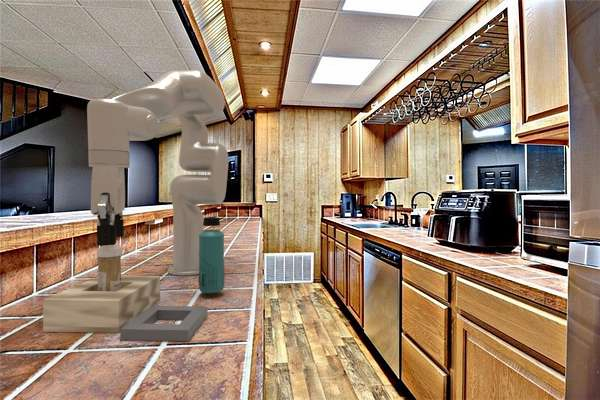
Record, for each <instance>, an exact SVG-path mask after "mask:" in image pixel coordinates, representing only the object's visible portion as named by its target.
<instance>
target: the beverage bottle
mask: <svg viewBox="0 0 600 400" xmlns="http://www.w3.org/2000/svg"><path fill="white" fill-rule="evenodd" d="M220 221H221V220H220V217H217V216H207V217H204V222H203V226H204V227H205V226H206V227H217V226H221V223H220ZM198 251H199V252H198V253H199V274H198V286H197V287H198V289H199V291H200V292H202V293H206V294H207V293H208V294H211V293H213V294H214V293H219V292H221V291H223V290H224V288H225V234H224V232H222V230H220V229H204V231H202V232H201V233H200V234H199V250H198Z"/></svg>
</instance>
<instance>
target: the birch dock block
mask: <svg viewBox="0 0 600 400" xmlns="http://www.w3.org/2000/svg"><path fill="white" fill-rule="evenodd" d="M160 301H161V275H131V274H130V275H125V274H123V275H122V274H121V289H120V290H118V291H98V276H96V277H94V278H92V279H89V280H87V281H84V282H82V283H79V284H76V285H75V286H72V287H70V288H68V289H65V290H63V291H61V292H58V293H56V294H53V295H50V296H49V297H45V298H44V299H42V323H43V324H42V325H43V326H42V332H45V333H47V332H48V333H49V332H50V333H99V334H100V333H107V334H109V333H111V334H119V333H120V329H121V328H123V327H124V326H125V325H126V324H128V323H129V322H130V321H132V320H133V319H134V318H136V317H137V316H138V315H140V314H141V313H142V312H144V311H145V310H146V309H147V308H149V307H150V306H156V304H158V303H160Z"/></svg>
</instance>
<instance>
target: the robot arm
mask: <svg viewBox="0 0 600 400" xmlns="http://www.w3.org/2000/svg"><path fill="white" fill-rule="evenodd" d="M224 96H225V95H224V93H223V91H222V89H221V88H220V87H219V86H218V85H217V84H216V83H215V81H214V80H213V79H212V78H211V77H210V76H209V75H208V74H207V73H205V72H204V71H202V70H197V69H196V70H195V69H191V70H190V69H188V70H186V69H185V70H171V71H167V72H165V73H163V74H162V75H161V76H159V77H158V78H157V79H155V80H154V81H152V82H151V83H150V84H149V85H147V86H144V87H141V88H138V89H135V90H132V91H129V92H126V93H122V94H119V95H118V96H115V97H113V98H110V99H109V98H94V99H93V98H92V99H91V100H89V102H88V103H87V106H86V112H87V113H86V114H87V148H88V149H87V150H88V152H87V153H88V167H90V168H92V169H91V170H92V171H91V180H90V181H91V183H90V184H91V185H90V188H91V189H90V213H91V215H93V216H97V220H96V243H97V246H98V247H102V246H110V245H116V243H117V238H123V237H124V236H125V230H124V228H125V227H124V226H125V224H124V223H125V222H124V220H125V219H124V214H123V211H125V207H126V206H125V205H126V185H125V168H126V169H131V168H130V167H131V164H130V163H131V161H130V160H131V158H130V157H131V156H130V141H132V142H133V141H134V142H136V141H142V142H143V141H150V140H152V139H154V138H155V137H156V136H157V135H158V133H159V130H160V121H159V119H158V118H163V117H167V116H168V115H170V114H171V113H173V111H174V112H175V114H176V116H177V118H178V121H179V123H180V127H181V138H180V139H181V140H180V148H179V156H178V162H179V163H178V164H179V168H181V169H182V170H183V171H186V172H193V173H210V174H181V175H178V176H175V177H174V178H172V180H171V182H170V185H169V187H170V188H169V190H170V191H169V192H170V197H171V202H172V211H173V212H172V213H173V214H172V216H173V218H172V219H173V220H172V223H173V224H172V229H173V230H172V236H173V237H172V239H173V240H172V242H173V244H172V245H173V247H172V266H169V267H168V268H167V273H168V274H169V275H173V276H180V277H181V276H183V277H184V276H195V275H199V253H198V252H199V251H198V250H199V234H200V233H201V232H202V231H204V230H205V226H203V222H204V218H205V217H204V214H203V212H202V210H201V209H200V208H199V206H198V205H220V204H222V203H223V202H224V200H225V198H226V193H227V185H228V183H227V182H228V171H229V153H228V150H227V147H225V146H224V145H223V144H221V143H216V142H215V143H214V142H213V143H212V142H210V143H209V142H208V141H209V129H208V128H207V125H206V124H205V123H204V122H203V121H202V119H201V118H200V117H199V116H200V115H219V114H221V113H222V112H223V111H224V109H225V106H226V105H225V104H226V99H225V97H224ZM198 115H199V116H198Z"/></svg>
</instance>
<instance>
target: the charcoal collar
mask: <svg viewBox="0 0 600 400" xmlns="http://www.w3.org/2000/svg"><path fill="white" fill-rule="evenodd" d="M208 310H209V309H208V306H203V305H202V306H198V305H197V306H194V305H191V306H190V305H189V306H187V305H154V306H150V307H149V308H147V309H146V310H145V311H144V312H142V313H141V314H140V315H138V316H137V317H136V318H134V319H133V320H132V321H130V322H129V323H128V324H126V325H125V326H124V327H123V328H121V329H120V332H119V333H120V334H119V336H120V339H119V340H120V341H136V342H137V341H140V342H141V341H142V342H143V341H144V342H145V341H146V342H189V341H190V340H191V338H192V337H193V336H194V335H195V334H196V332H197V331H198V329H199V328H200V327H201V325H202V324H203V322H205V320H206V318H207V317H208V314H209V313H208ZM160 320H161V321H162V320H163V321H181V322H180V323H179V324H176V323H156V322H157V321H160Z"/></svg>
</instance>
